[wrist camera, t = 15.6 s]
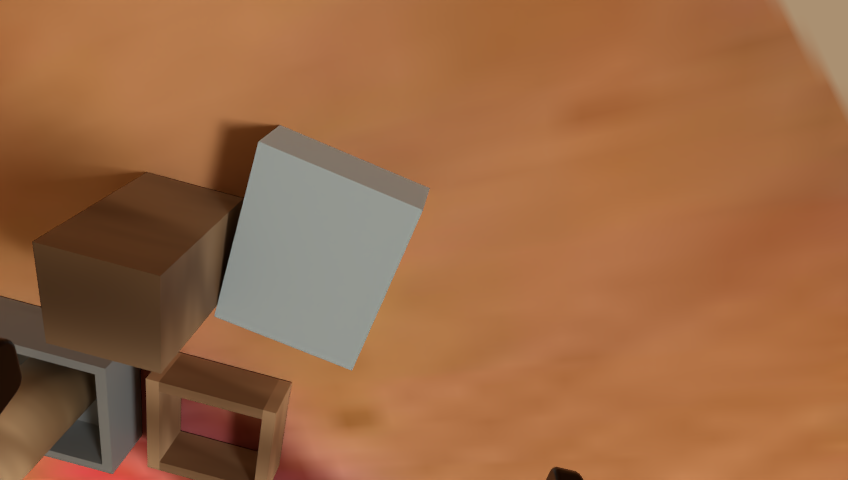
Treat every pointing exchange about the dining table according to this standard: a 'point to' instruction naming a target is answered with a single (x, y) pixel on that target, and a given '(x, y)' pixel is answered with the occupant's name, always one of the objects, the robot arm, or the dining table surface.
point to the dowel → (41, 413)
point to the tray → (115, 387)
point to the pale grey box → (316, 246)
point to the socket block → (224, 388)
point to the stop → (136, 270)
